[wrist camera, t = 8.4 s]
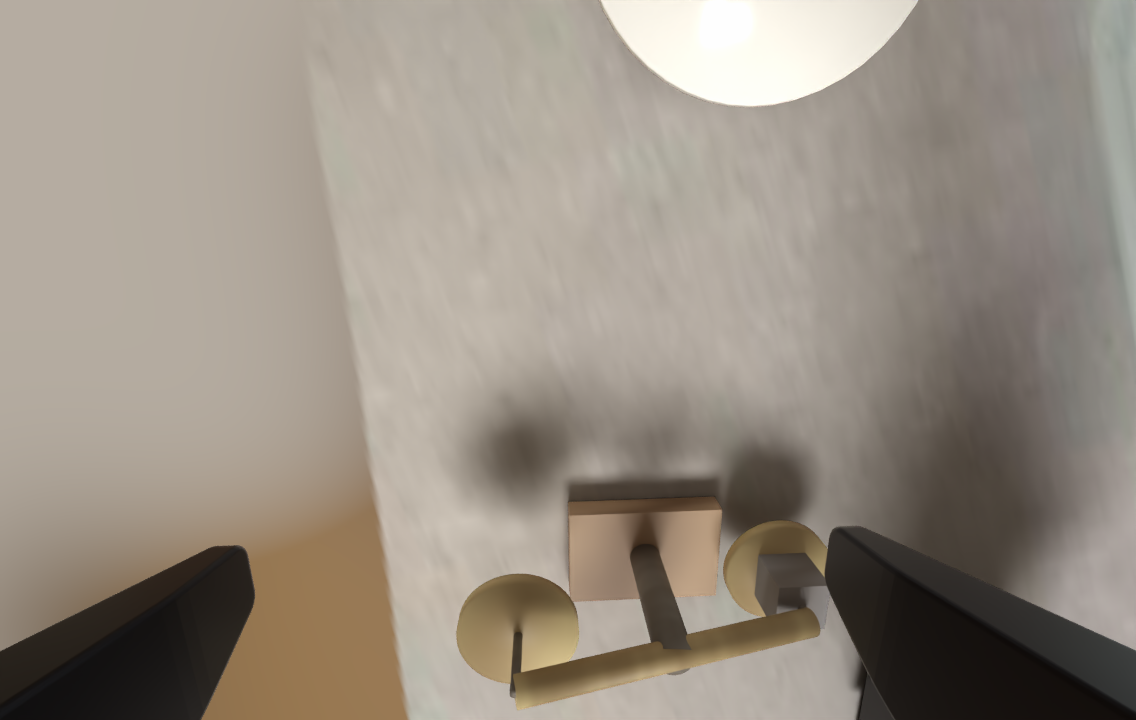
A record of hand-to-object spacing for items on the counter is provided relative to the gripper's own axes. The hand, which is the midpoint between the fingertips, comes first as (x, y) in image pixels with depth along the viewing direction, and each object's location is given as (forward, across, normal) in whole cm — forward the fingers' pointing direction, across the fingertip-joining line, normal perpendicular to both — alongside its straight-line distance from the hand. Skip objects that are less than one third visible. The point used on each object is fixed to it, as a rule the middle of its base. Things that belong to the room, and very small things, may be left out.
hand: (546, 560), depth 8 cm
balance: (+12, -4, +8) cm, 15 cm away
